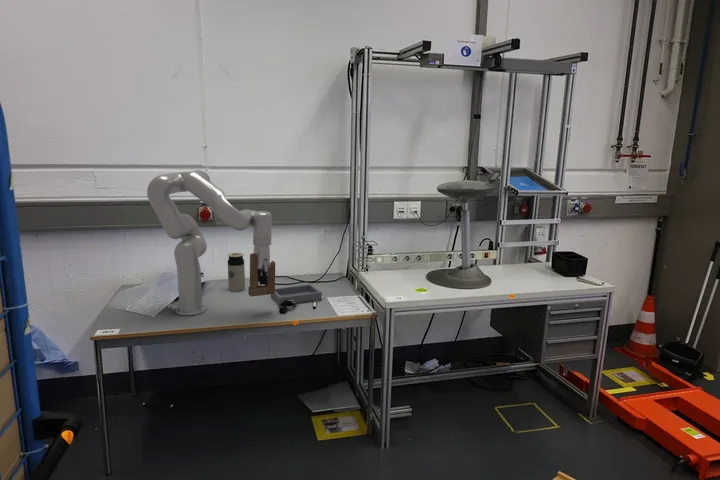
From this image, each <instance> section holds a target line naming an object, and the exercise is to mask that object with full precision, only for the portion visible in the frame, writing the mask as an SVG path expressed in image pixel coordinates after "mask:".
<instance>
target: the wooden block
mask: <svg viewBox="0 0 720 480" xmlns="http://www.w3.org/2000/svg"><path fill="white" fill-rule="evenodd" d="M258 274H259V269H258V268H257V255H256V254H255V253H250V254H249V286H248V296H250V297H260V296H268V295H270V296H271V294H275V289H276V262H275V261H274V260H271V261H270V267H269V268H268V272H267V284H264V285H260V284H259V282H258V279H259V280H260V275H259V276H258Z"/></svg>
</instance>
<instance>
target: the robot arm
mask: <svg viewBox="0 0 720 480" xmlns="http://www.w3.org/2000/svg"><path fill="white" fill-rule="evenodd" d="M185 192H189V193H190V194H192V195H193V196H195V197H196V198H197V199H199V200H200V201H201V202H203V203H204V204H205V205H207V206H209V207H210V209H211V210H212V211H213V213H215V215H216V216H217V218H218V219H220V220H221V221H223V223H225V224H226V225H228V226H229V227H231V228H232V229H234V230H236V231H245V230H247V229H248V228H251V227H252V245H253V253H255V254H256V255H257V268H258V269H259V274H258V276H259V275H260V280H259V279H258V283H259V285H262V286H265V284H267V272H268V268H269V267H270V263H271V252H270V251H271V250H270V246H271V245H272V227H273V225H272V221H273V219H272V218H273V217H272V213H271V212H270V211H265V210H258V211H256V210H252V209H242V210H238V209H237V208H236V207H234V206H233V205H232V204H231V203H230V202H229V201H228V200H227V198H226V195H225V192H224V191H223V190H222V189H221V188H220V187H218V186H217V185H216V184H214V183H213V182H212V181H211V178H210V176H209V175H208V173H207V172H206V171H203V170H202V169H201V170H200V169H199V170H191V171H183V172H182V171H181V172H172V173H163V174H159V175H156V176H155V177H153V179H151V181H150V182H149V183H148V186H147V189H146V197H147V199H148V201H149V203H150V205H151V207H152V208H153V211H154V212H155V214H156V216H157V218H158V221H159V223H160V224H161V226H162V228H163V229H164V231H165V233H166V235H167V236H168V237H169V238H170V239H172V240H178V239H180V240H181V241H180V242H178V243H177V244H176V246H175V248H174V251H173V255H174V259H175V264H176V271H177V272H176V274H177V285H178V286H177V287H178V300H177V302H175V303H168V304H167V309H171V310H175V313H176V314H178V315H180V316H194V315H199V314H200V315H201V314H203V313H204V312H205V311H207V305H205V304H203V288H202V274H201V273H202V271H201V265H200V261H199V258H200V257H202V256H203V255H204V254H205V253H206V251H207V249H208V244H207V242H206V241H207V240H206V239H205V237H204V235H203V233H202V231H201V230H200V228H199V225H198V224H197V222H196V220H195V219H194V218H193V217H192V216H191V215H190V214H186V213H180V211H179V209H178V207H177V204H175V202H174V201H173V200H172V198H171V197H170V195H174V194H177V193H185ZM253 253H252V254H253Z"/></svg>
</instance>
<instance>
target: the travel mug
mask: <svg viewBox="0 0 720 480" xmlns="http://www.w3.org/2000/svg"><path fill="white" fill-rule="evenodd" d="M227 256H228V259H227V278H228V279H227V280H228V290H229V291H231V292H241V291H244V290H245V289H246V277H245V276H246V275H245V274H246V273H245V260H244V253H242V252H231V253H229V254H227Z"/></svg>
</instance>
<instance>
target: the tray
mask: <svg viewBox="0 0 720 480" xmlns="http://www.w3.org/2000/svg"><path fill="white" fill-rule="evenodd" d="M270 298H271V299H272V300H273V301H274V302H275V303H276V304H277V305H278V306H279V305H280V304H281V303H282V302H283V301H284V300H294V301H295V302H296V303H297V304H296V305H300V304H305V303H307V304H308V303H313V302H312V301H313V299H317V300H318V301H317V302H320V301H322V299H323V293H322V291H321V290H319V289H318V288H317V287H315V286H314V285H313V284H312V283H311V284H309V283H308V284H302V285H301V284H300V285H292V286H285V287H277V288H276V287H275V294H270ZM299 303H300V304H299Z"/></svg>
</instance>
